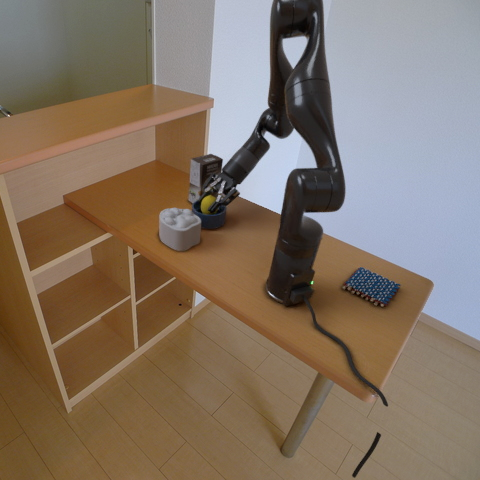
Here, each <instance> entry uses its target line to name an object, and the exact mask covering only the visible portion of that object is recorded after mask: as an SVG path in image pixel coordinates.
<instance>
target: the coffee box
mask: <svg viewBox="0 0 480 480" xmlns="http://www.w3.org/2000/svg"><path fill="white" fill-rule="evenodd" d="M223 163H224V159H223V158H222V157H220V156H218V155H216V154H214V153H213V154H212V153H208V154H204V155H199V156H196V157H192V158H190V169H189V186H188V187H189V188H188V201H189V202H190V203H191V204H193V203H194V202H195V201H197V200H199V198H200V197H201V195H202V194H203V193H204V192H205V190H204V188H203V186H204V184H205V183H206V181H207V180H208V178H209V177H210V175H211V174H212V173H213V172H214V173H215V174H216V175H219V174H221V173H222V168H223ZM209 185H210V184H208V186H209ZM214 187H215V186H214ZM211 190H212V189H211ZM211 190H210V191H211ZM218 192H219V191H218ZM218 192H214V193H213V194H211V196H213V197H215V198H216V199H217V197H218Z"/></svg>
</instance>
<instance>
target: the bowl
mask: <svg viewBox="0 0 480 480" xmlns="http://www.w3.org/2000/svg"><path fill="white" fill-rule="evenodd" d="M227 209H228V207H227V206H225V205H220V206H219V208H218V211H217V213H216V214H215V215H206V214H203V213H202V211H201V204H200V203H199V202H198V200H197V201H195V202H194V203H192V205H191V211H192V213H193V214H195V215H196V216H198V217H199V218H200V219H201V229H207V230H210V229H211V230H213V229H219V228H221V227H222V226H224V225H225V223H226V218H227Z"/></svg>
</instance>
